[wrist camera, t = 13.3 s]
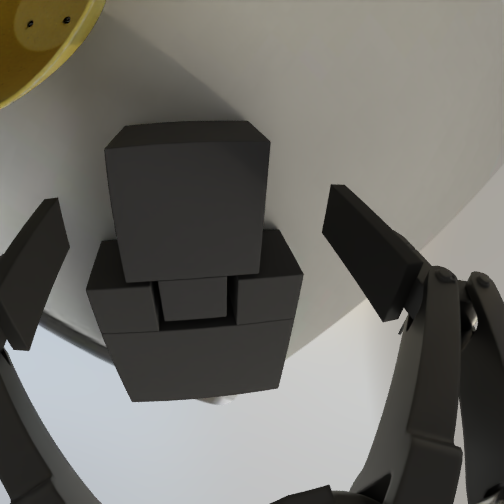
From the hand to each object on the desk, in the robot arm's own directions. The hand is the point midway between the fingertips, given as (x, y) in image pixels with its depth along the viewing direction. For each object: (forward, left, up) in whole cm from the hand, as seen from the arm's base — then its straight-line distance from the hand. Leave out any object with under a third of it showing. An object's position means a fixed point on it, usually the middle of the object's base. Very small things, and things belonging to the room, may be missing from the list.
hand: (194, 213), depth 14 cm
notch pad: (0, +10, -5) cm, 11 cm away
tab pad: (0, +2, -5) cm, 5 cm away
